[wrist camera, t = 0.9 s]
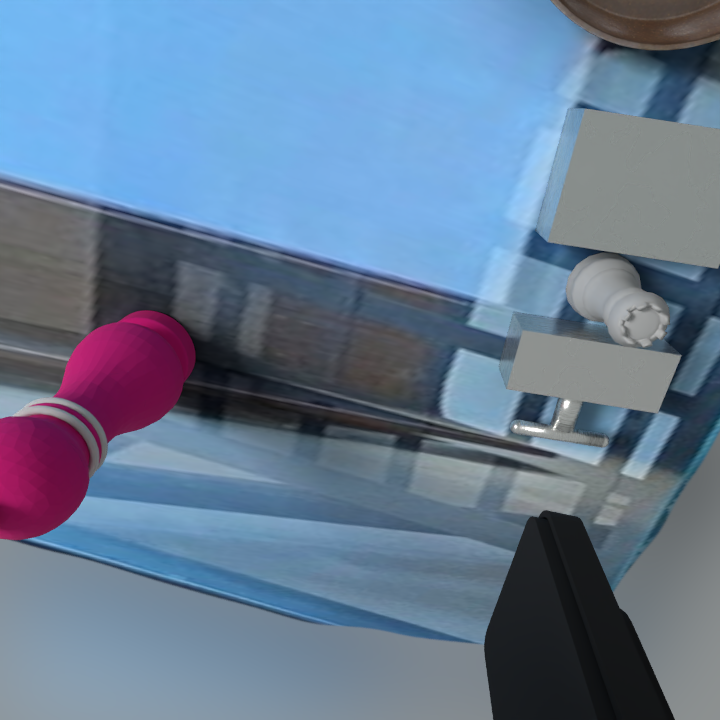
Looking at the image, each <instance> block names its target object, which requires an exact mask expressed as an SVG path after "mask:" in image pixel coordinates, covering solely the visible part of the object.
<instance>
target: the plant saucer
mask: <svg viewBox="0 0 720 720" xmlns="http://www.w3.org/2000/svg"><path fill="white" fill-rule="evenodd" d="M551 1H552V3H553V4H554V5H555V6H556V7H557V8H558V9H559V10H560V11H561V12H562V13H563V14H565V15H566V16H567V17H568V18H569V19H570V20H572V21H573V22H574V23H575V24H577V25H579V26H580V27H582V28H583V29H585V30H586V31H588V32H590V33H591V34H593V35H595V36H597V37H600V38H602V39H604V40H606V41H609V42H612V43H615V44H618V45H621V46H625V47H630V48H635V49H644V50H675V49H684V48H690V47H695V46H699V45H703V44H706V43H710V42H713V41H716V40H719V39H720V0H551Z"/></svg>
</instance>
